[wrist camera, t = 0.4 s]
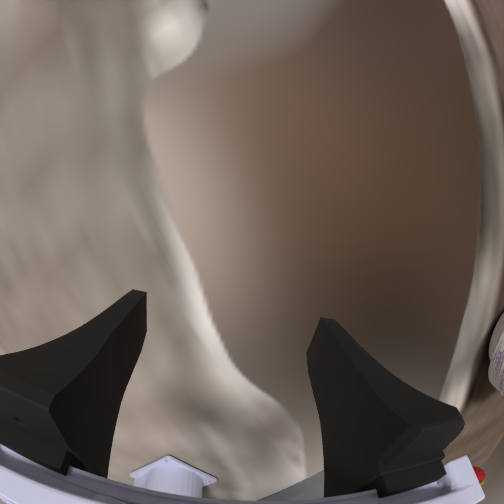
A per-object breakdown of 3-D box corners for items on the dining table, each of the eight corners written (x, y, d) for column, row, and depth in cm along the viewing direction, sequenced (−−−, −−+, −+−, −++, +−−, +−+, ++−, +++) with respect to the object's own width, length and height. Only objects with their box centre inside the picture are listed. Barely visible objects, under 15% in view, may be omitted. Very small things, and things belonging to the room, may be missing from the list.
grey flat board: (273, 524, 37) (274, 532, 35) (226, 511, 34) (226, 521, 32) (398, 462, 33) (402, 471, 31) (367, 444, 30) (372, 454, 28)
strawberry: (467, 466, 41) (484, 492, 31) (446, 478, 40) (462, 506, 31) (478, 453, 39) (497, 479, 30) (456, 465, 39) (475, 494, 29)
